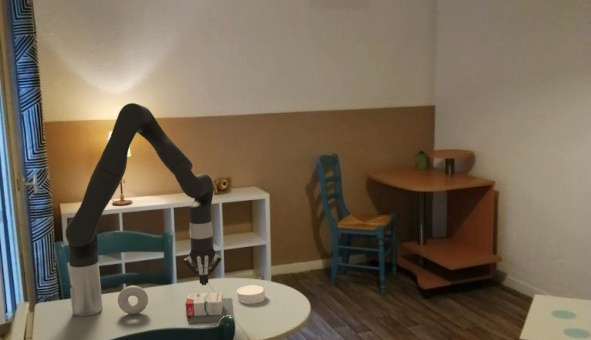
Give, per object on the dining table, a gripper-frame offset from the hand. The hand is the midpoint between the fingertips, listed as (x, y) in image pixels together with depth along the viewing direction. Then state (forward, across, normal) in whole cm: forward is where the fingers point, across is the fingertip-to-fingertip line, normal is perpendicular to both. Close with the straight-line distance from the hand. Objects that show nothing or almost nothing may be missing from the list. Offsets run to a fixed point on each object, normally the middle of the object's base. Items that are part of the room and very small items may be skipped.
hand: (204, 284), depth 190 cm
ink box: (+7, -6, 0) cm, 9 cm away
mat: (+10, +2, 0) cm, 10 cm away
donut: (+10, -24, +3) cm, 26 cm away
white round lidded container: (+10, +16, +8) cm, 21 cm away
